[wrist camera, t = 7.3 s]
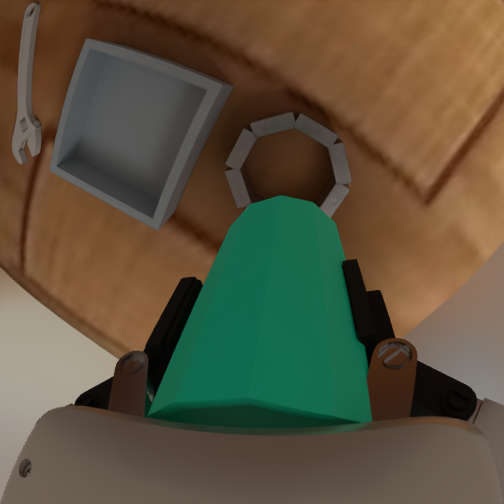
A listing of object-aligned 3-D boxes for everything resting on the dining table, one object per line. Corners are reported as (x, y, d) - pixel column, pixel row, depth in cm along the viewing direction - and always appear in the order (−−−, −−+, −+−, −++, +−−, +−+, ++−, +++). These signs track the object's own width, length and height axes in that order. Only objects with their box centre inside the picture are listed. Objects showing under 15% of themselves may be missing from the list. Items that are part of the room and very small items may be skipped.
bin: (234, 86, 26) (222, 84, 22) (174, 211, 34) (158, 230, 30) (112, 41, 24) (86, 38, 20) (74, 159, 32) (49, 170, 28)
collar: (364, 151, 28) (371, 158, 25) (307, 236, 34) (307, 249, 31) (266, 93, 26) (263, 93, 24) (216, 187, 32) (209, 196, 29)
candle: (254, 174, 13) (136, 434, 3) (364, 229, 14) (441, 482, 4) (210, 270, 16) (122, 483, 6) (306, 311, 17) (297, 525, 7)
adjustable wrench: (32, 6, 20) (24, 5, 19) (61, -5, 20) (53, -6, 19) (19, 159, 33) (12, 162, 32) (44, 161, 33) (36, 164, 31)
